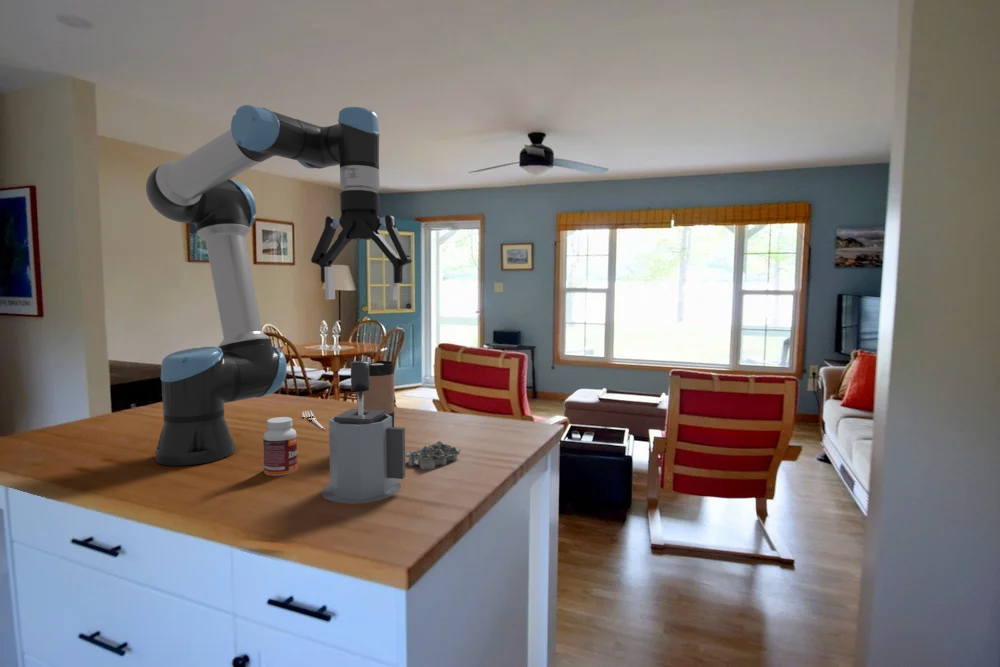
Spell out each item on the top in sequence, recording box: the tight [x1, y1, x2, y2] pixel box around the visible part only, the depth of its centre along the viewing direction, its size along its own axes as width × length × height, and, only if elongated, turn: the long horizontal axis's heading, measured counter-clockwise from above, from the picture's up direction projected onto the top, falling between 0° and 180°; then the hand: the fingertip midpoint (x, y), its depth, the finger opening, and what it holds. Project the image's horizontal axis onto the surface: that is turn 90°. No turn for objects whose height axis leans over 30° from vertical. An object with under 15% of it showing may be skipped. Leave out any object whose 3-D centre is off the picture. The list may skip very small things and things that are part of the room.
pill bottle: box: [262, 416, 298, 476], centre depth 108 cm, size 6×6×11 cm
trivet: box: [321, 478, 402, 505], centre depth 99 cm, size 14×14×1 cm
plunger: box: [350, 360, 370, 425], centre depth 98 cm, size 8×8×21 cm
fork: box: [301, 409, 324, 429], centre depth 149 cm, size 3×20×2 cm, turn 33°
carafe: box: [328, 408, 406, 500], centre depth 98 cm, size 13×10×14 cm
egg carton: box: [405, 440, 462, 470], centre depth 115 cm, size 11×8×4 cm
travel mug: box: [363, 360, 395, 427], centre depth 125 cm, size 8×8×20 cm
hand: (361, 299), depth 109 cm, fingers open, 13 cm apart
